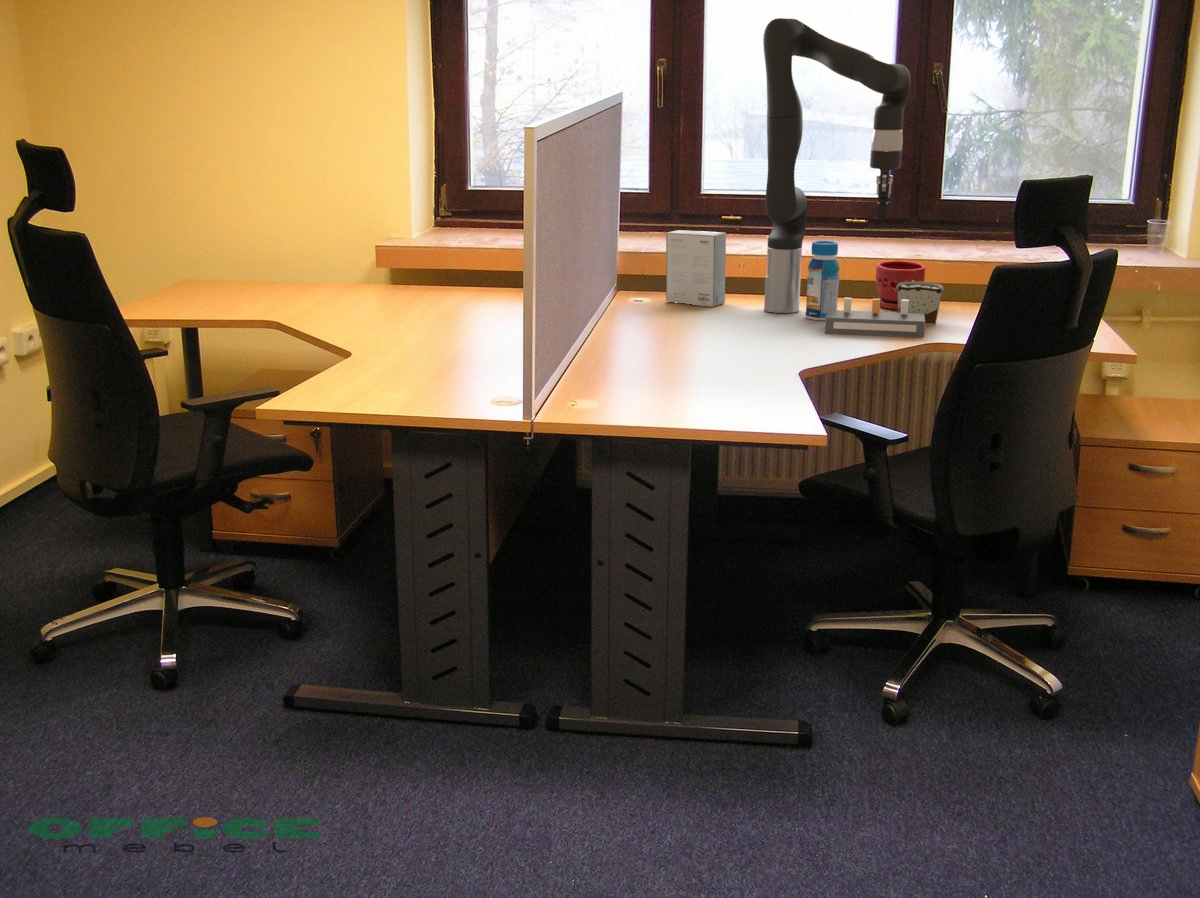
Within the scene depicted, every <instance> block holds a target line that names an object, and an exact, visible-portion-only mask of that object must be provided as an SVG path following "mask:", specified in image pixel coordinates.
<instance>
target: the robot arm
mask: <svg viewBox="0 0 1200 898" xmlns="http://www.w3.org/2000/svg"><path fill="white" fill-rule="evenodd" d="M762 38H763V39H762V45H763V46H762V47H763V54H764V64H765V72H766V74H765V75H766V134H767V135H766V137H767V139H766V140H767V141H766V142H767V143H766V145H767V151H766V152H767V154H766V155H767V177H766V179H767V180H766V181H767V182H766V190H765V200H764V201H765V202H764V203H765V205H764V208H765V213H766V214H767V216H768V218H769V219H770V220H771V221H772V222H773V223H772V229H771V232H770V234H769V236H768V238H767V251H766V252H767V254H766V255H767V257H766V276H765V280H764V281H765V283H764V301H763V302H764V304H763V305H764V307H763V309H764V310H763V312H770V313H775V314H776V313H777V314H792V313H797V312H799V310H800V297H801V296H800V295H801V280H802V279H801V276H802V257H803V256H802V254H803V253H802V252H803V240H804V238H805V236H806V235H805V234H806V230H807V229H806V228H807V227H806V226H807V217H808V216H807V214H808V201H807V197H806V194H805V192H804V191H803V190H802V189H801V188H800V187H797V186H796V184H795V183H796V182H795V170H796V169H795V168H796V167H795V166H796V163H797V158H798V155H799V152H800V147H801V144H802V140H803V129H804V128H803V107H802V102H801V100H800V96H799V94H798V91H797V89H796V86H795V82H794V78H793V57H801V58H805V59H810V60H813V61H816V62H817V63H820V64H822V65H823V66H825V67H826V68H828V69H829V70H831V71H832V72H834V73H835V74H837V75H839V76H841V77H844V78H847V79H850V80H852V81H853V82H854V81H855V82H857V83H859V84H861V85H863V86H864V87H866V88H868V89H870V90H871V91H874V92H876V93H878V94H882V96H881V101H880V104H879V105H877V106H876V108H875V109H874V116H873V127H872V128H873V130H872V137H871V142H870V144H871V145H870V158H869V167H870V169H871V168H872V169H876V170H877V169H878V170H879V171H880V172H879V175H876V181H875V182H876V195H877V200H876V201H877V202H876V203H877V217H876V218H877V219H878V220H881V221H882V220H883V221H884V220H886V219H887V214H888V213H887V212H888V205H889V204H888V203H889V200H890V199H889V198H890V197H889V196H890V195H891V193H892V191H891V190H892V184H893V178H894V177H893V175H890V174H891V173H890V172H891V170H897V169H900V168H901V167H902V158H903V157H902V154H903V142H904V137H903V135H904V134H903V129H904V126H903V125H904V111H905V108H906V105H907V101H908V98H909V95H910V90H911V84H912V83H911V82H912V81H911V73H910V70H909V69H908V67H907V66H905V65H904V64H902V63H886V62H883V61H881V60H879V59H876V58H875V57H874V56H873V55H871V54H870V53H868V52H865V51H863V50H860V49H858V48H855V47H853V46H850V45H847V44H845V43H844V44H843V43H842V42H839V41H836V40H834V39H831V38H829V37H827V36H824V35H823V34H822V33H819V32H818V31H816V30H815V29H813V28H811V27H810V26H808V25H807V24H805V23H803V22H802V21H801V20H799V19H797V18H782V17H780V18H779V17H778V18H773V19H772V20H770V21H769V22H768V23H767V25H766V27H765V29H764V33H763V37H762Z"/></svg>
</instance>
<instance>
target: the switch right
mask: <svg viewBox="0 0 1200 898" xmlns="http://www.w3.org/2000/svg"><path fill="white" fill-rule="evenodd" d="M908 305H909V300H901V311H900V314H903V315H908Z"/></svg>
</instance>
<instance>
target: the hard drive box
mask: <svg viewBox="0 0 1200 898" xmlns="http://www.w3.org/2000/svg"><path fill="white" fill-rule="evenodd" d="M665 235H666V236H665V237H666V239H665V241H666V243H665V244H666V245H665V246H666V248H665V250H666V253H665V257H666V258H665V259H666V260H665V261H666V262H665V269H666V270H665V272H666V273H665V274H666V275H665V278H666V279H665V282H666V285H665V287H666V288H665V291H666V292H665V299H666V300H665V301H668V302H667V303H669V302H677V303H686V304H685V305H689V304H692V305H691V306H699V307H710V308H713V307H716V306H719V305H723V304H725V303H726V261H727V260H726V258H727V257H726V253H727V252H726V250H727V249H726V248H727V247H726V246H727V242H726V241H727V232H724V231H723V232H722V231H720V232H719V231H718V232H717V231H707V230H706V231H703V230H687V229H686V230H685V229H684V230H681V229H678V230H673V231H668V232H666V234H665ZM677 303H676V304H677Z"/></svg>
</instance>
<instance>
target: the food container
mask: <svg viewBox="0 0 1200 898" xmlns="http://www.w3.org/2000/svg"><path fill="white" fill-rule="evenodd" d="M896 291H898V310H897V313H900V311H901V300H909V305H908V313H921V314H924V316H925V325H933V326H934V325H936V324H937V319H938V315H939V314H938V313H939V309H940V304H941V299H942V294H943V295H945V290H944V286H943V284H940V283H937V282H929V281H924V282H914V281H912V282H902V283H899V284H898V285H897V286H896V290H895V292H896Z"/></svg>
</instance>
